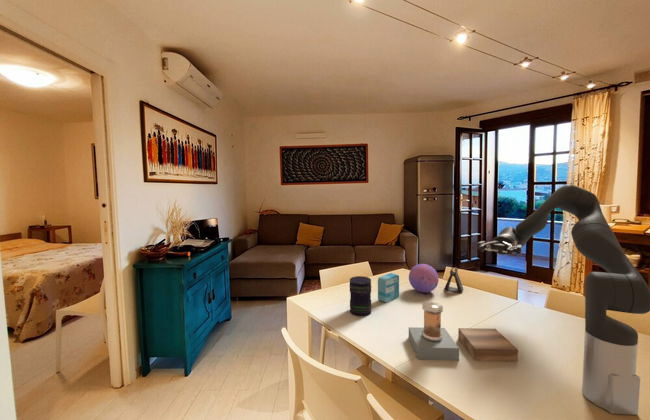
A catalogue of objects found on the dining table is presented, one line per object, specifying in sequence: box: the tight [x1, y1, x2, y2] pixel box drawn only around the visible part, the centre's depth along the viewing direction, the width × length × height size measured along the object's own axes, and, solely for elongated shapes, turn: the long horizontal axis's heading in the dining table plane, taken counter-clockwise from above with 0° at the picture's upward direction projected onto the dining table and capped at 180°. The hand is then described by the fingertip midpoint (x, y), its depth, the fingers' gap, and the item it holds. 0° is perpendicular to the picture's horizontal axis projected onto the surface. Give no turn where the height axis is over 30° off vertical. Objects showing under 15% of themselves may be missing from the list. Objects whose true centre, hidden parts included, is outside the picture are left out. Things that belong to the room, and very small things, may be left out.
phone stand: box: [443, 266, 464, 294], centre depth 148 cm, size 9×6×12 cm, turn 57°
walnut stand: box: [457, 327, 519, 362], centre depth 93 cm, size 13×13×4 cm
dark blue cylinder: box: [349, 275, 372, 318], centre depth 124 cm, size 10×10×15 cm
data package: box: [377, 272, 400, 304], centre depth 138 cm, size 12×4×12 cm, turn 131°
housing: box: [421, 301, 444, 342], centre depth 94 cm, size 7×7×11 cm
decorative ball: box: [408, 263, 439, 294], centre depth 146 cm, size 15×15×15 cm
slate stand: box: [408, 326, 460, 361], centre depth 95 cm, size 13×13×4 cm
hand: (494, 250), depth 101 cm, fingers open, 8 cm apart
